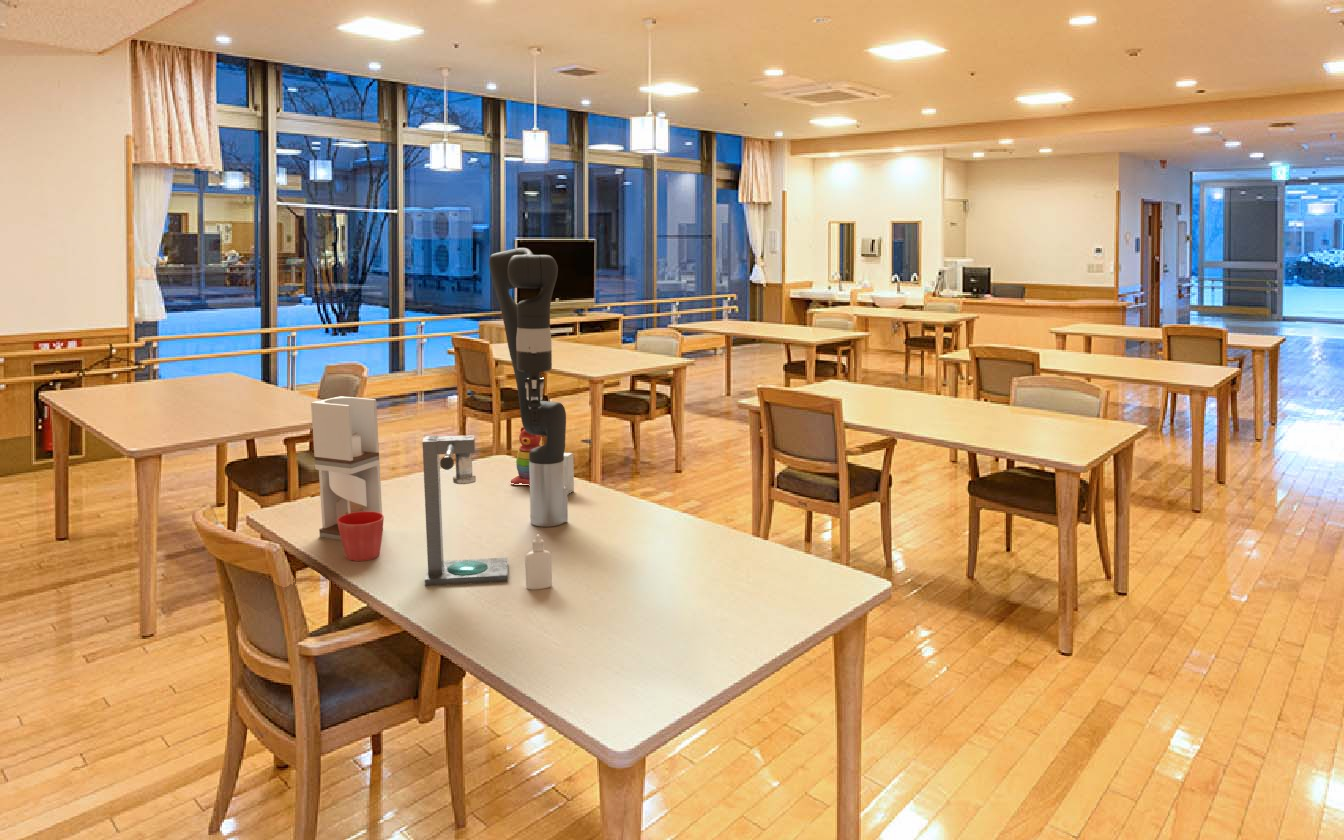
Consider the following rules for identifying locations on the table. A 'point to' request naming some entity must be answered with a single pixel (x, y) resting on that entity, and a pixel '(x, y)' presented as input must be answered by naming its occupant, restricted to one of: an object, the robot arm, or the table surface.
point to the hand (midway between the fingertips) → (535, 422)
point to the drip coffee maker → (346, 458)
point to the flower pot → (361, 534)
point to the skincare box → (568, 472)
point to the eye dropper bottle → (538, 566)
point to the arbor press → (437, 567)
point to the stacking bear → (525, 456)
